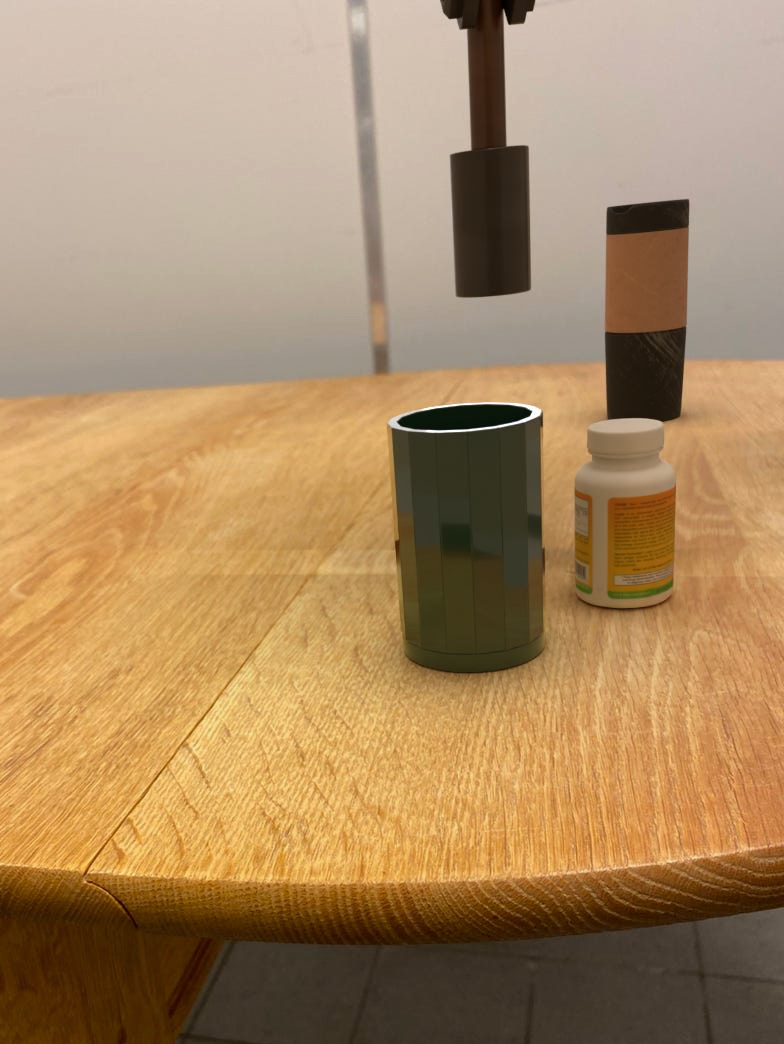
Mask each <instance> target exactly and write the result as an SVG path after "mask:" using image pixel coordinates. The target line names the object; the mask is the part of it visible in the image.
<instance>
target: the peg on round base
mask: <svg viewBox="0 0 784 1044" xmlns="http://www.w3.org/2000/svg"><path fill="white" fill-rule="evenodd" d="M466 48H467V50H466V52H467V53H466V54H467V79H468V81H467V82H468V106H469V107H468V109H469V137H470V139H469V140H470V149H469V150H463V151H457V152H453V153H450V154H449V157H448V158H449V159H448V160H449V180H450V181H449V182H450V183H449V184H450V206H451V207H450V208H451V228H452V229H451V230H452V231H451V233H452V254H453V256H452V257H453V277H454V279H453V280H454V283H453V284H454V296H455V297H456V298H462V299H463V298H464V299H470V298H471V299H472V298H474V299H475V298H491V297H501V296H508V295H516V294H523V293H527V292H529V291H531V289H532V258H531V257H532V254H531V253H532V252H531V249H532V248H531V247H532V246H531V192H530V191H531V190H530V189H531V188H530V186H531V185H530V146H529V145H528V144H520V145H507V144H508V142H507V140H508V139H507V137H508V136H507V100H506V99H507V97H506V95H507V94H506V57H505V55H506V54H505V51H506V50H505V12H504V9H503V0H480V1H479V8H478V15H477V22H476V27H475V28H474V29H466Z"/></svg>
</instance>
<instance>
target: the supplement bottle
mask: <svg viewBox="0 0 784 1044" xmlns="http://www.w3.org/2000/svg"><path fill="white" fill-rule="evenodd" d="M664 445H665V424H664V422H663V421H658V420H653V419H643V418H627V419H613V420H609V419H607V420H601V421H597V422H593V423H591V424H590V425H588V427H587V429H586V448H587V452H588V454H589V455H591V460H590V461H588V462H586V463H584V464H583V465H581V466H580V467H579V469H578V470H577V471H576V474H575V476H574V488H573V491H574V492H573V493H574V494H573V495H574V496H573V497H574V586H575V587H574V588H575V593H576V594H577V596H578V598H579V599H580V600H582V601H584V602H585V603H587V604H590V605H592V606H597V607H603V608H611V609H637V608H644V607H651V606H655V605H658V604H660V603H662V602H664V601H665V600H667V599H668V598H669V597H670V596H671V595H672V593H673V591H674V580H675V540H676V539H675V538H676V537H675V536H676V533H675V532H676V505H677V504H676V503H677V501H676V499H677V475H676V474H677V473H676V470H675V469H674V467H673V466H672V464H671V463H669V462H668V461H666V460H664V459H662V458H660V453H661V452H662V451H664Z"/></svg>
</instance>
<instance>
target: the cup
mask: <svg viewBox="0 0 784 1044" xmlns="http://www.w3.org/2000/svg"><path fill="white" fill-rule="evenodd" d="M386 432H387V434H386V435H387V447H388V448H387V449H388V462H389V464H388V465H389V478H390V490H391V491H390V493H391V507H392V518H393V520H392V522H393V535H394V551H395V563H396V564H395V567H396V581H397V593H398V594H397V595H398V608H399V610H398V611H399V623H400V625H399V626H400V632H401V637H402V649H403V652H404V655H406V657H407V658H409V660H410V661H412V662H414V663H415V664H418V665H420V666H423V667H426V668H429V669H432V670H433V669H434V670H437V671H438V670H439V671H442V672H451V673H452V672H454V673H483V672H492V671H498V670H504V669H509V668H513V667H517V666H519V665H522V664H525V663H527V662H529V661H532V660H533V659H534V658H536V657H537V656H538V655H540V654H541V653H542V651H544V648H545V646H546V624H547V603H546V602H547V600H546V599H547V598H546V596H547V595H546V594H547V593H546V591H547V590H546V529H545V526H546V524H545V523H546V521H545V463H544V462H545V461H544V459H545V458H544V455H545V453H544V411H543V410H542V409H540V408H538V407H536V406H534V405H531V404H530V405H529V404H525V403H524V404H523V403H516V402H493V401H492V402H489V401H488V402H468V403H467V402H466V403H454V404H448V405H447V404H446V405H436V406H433V407H432V406H430V407H426V408H425V407H424V408H420V409H416V410H415V409H414V410H411V411H407V412H404V413H402V414H399V415H395V416H393V417H392V418H390V420H388V421H387V422H386Z"/></svg>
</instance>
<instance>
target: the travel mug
mask: <svg viewBox="0 0 784 1044" xmlns="http://www.w3.org/2000/svg"><path fill="white" fill-rule="evenodd" d="M605 220H606V222H605V224H606V225H605V227H606V228H605V234H606V235H605V280H604V281H605V283H604V284H605V285H604V286H605V287H604V290H605V291H604V292H605V293H604V350H605V351H604V354H605V355H604V357H605V393H606V395H605V396H606V416H607V420H613V419H627V418H643V419H653V420H658V421H661V422H664V421H669V420H673V419H676V418H678V417H680V416H681V414H682V403H683V389H684V388H683V387H684V374H685V373H684V372H685V358H686V342H687V341H686V340H687V325H688V324H687V323H688V321H687V320H688V289H689V288H688V286H689V285H688V284H689V283H688V281H689V239H690V238H689V237H690V236H689V235H690V233H689V232H690V227H689V226H690V199H689V198H682V199H681V198H679V199H670V200H661V201H648V202H640V203H631V204H630V203H629V204H621V205H614V206H613V205H612V206H607V207H606V218H605Z"/></svg>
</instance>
